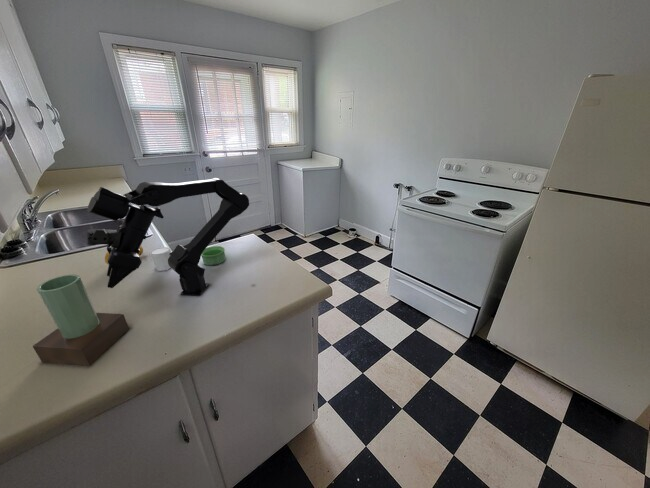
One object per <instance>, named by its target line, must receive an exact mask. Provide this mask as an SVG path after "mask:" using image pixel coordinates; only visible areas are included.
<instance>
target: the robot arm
mask: <svg viewBox="0 0 650 488" xmlns="http://www.w3.org/2000/svg"><path fill="white" fill-rule="evenodd" d="M214 193H215V194H216V195H217V196H218V197H219V198H221V201H220V204H219V208H218V209H217V212H215V214H213V215H212V217H211V218H210V219H209V220H208V221H207V222H206V223H205V225H204V226H203V227H202V228H201V229H200V230H199V231H198V232H197V234H196V235H195V236H194V237H193V238H192V239H191V240H190V241H189V242H188V243H187V244H185V245H181V244H179V243H178V244H177V245H176V247H175V248H174V249H173V250H172V251H171V253H169V254H170V257H169V258H168V265H169V266H170V267H171V268H170V269H171V270H172V271H174V272H175V273H176V274H177V275H179V276H178V277H179V279H178V280H179V284H180V287H181V292H180V295H181V296H199V297H200V296H201V295H202V294H203V293H204V291H205V290H206V289H207V288H208V287H209V286H210V284H209V283H208V282H206V280H205V279H206V278H205V270H206V269H205V268H204V267H203V266H201V265H200V264H199V263H200V261H201V258H202V256H201V254H202V252H203V251H204V250H205V249H206V248H208V247H209V245H210V244H211V243H212V242H213V241H214V239H215V238H216V237H217V236H218V235H219V234H220V233H221V232H222V230H223V229H224V228H225V227H226V225H227V224H228V223H229V222H230V221H231V220H232V219H234V218H236V217H238V216H239V215H241V214H243V213H244V212H245V211H246V210H247V209H248V208H249V206H250V199H249V197H248V195H246V194H245V193H242V192H239V191H238V190H237V189H235V188H233V186H231V185H229V184H228V183H227V182H226V181H224V180H223V179H221V178H217V177H213V178H209V179H208V178H207V179H200V180H193V181H192V180H191V181H183V182H175V183H171V182H169V183H168V182H159V181H158V182H157V181H143V182H140V183H139V184H138V185H137V186H136V188H135V189H133V190H131V191H129V192H127V193H124V194H120V193H117V192H114V191H112V190H110V189H109V188H107V187H104V186H100V187H99V188H98V190H97V191H96V192H95V194H94V195H93V196H91V198H90V200H89V203H88V206H87V209H86V211H87V213H88V214H92V215H94V216H98V217H101V218H104V219H108V220H111V221H115V222H117V221H118V220H123V221H122V223H121V224H120V225H118V226H117V228H116V229H108V228H107V229H105V228H88V229H87V231H86V245H87V246H97V245H106V251H107V252H108V253H109V257H108V264H109V265H108V264H107V265H108V268H107V271H106V276H107V277H109V278H108V282H107V286H106V287H107V288H108V289H113V288H114V287H116V286H117V285H118V284H120V282H122V281H123V280H124V279H125V278H126V277H128V276H129V275H130V274H132V273H133V272H135V271H136V270H137V269H139V268H140V267H141V265H142V261H143V260H142V259H141V257H140V256H139V255H138V254H139V252H140V249H139V248H140V246H142V244H143V241H144V240H146V239H147V237H148V236H147V233H148V231H149V228H150V227H151V225H152V223H153V220H154V218H155V217H156V218H159V219H164V215H163V213H162V211H161V208H160V206H163V205H167V204H170V203H172V202H174V201H175V200H177V199H182V198H188V197H195V196H201V195H207V194H214ZM147 205H148V206H147ZM152 207H154V208H152ZM136 253H137V254H136Z"/></svg>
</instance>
